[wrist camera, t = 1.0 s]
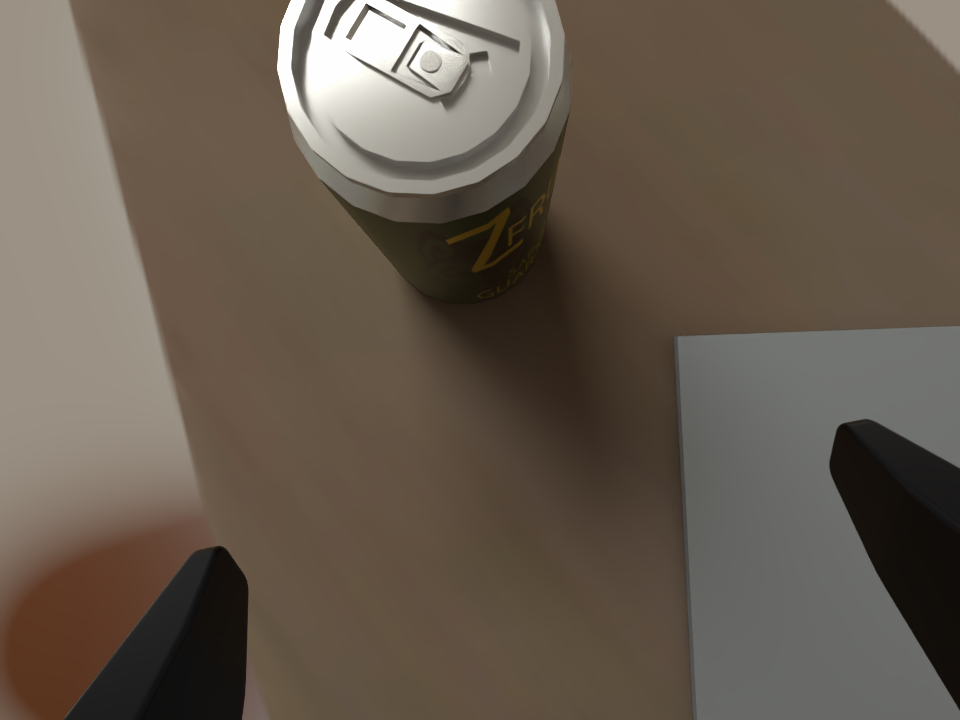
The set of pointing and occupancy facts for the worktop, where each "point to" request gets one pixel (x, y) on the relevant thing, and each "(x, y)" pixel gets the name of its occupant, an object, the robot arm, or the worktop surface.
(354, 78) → the beer can
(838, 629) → the grey mat
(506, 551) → the worktop surface
